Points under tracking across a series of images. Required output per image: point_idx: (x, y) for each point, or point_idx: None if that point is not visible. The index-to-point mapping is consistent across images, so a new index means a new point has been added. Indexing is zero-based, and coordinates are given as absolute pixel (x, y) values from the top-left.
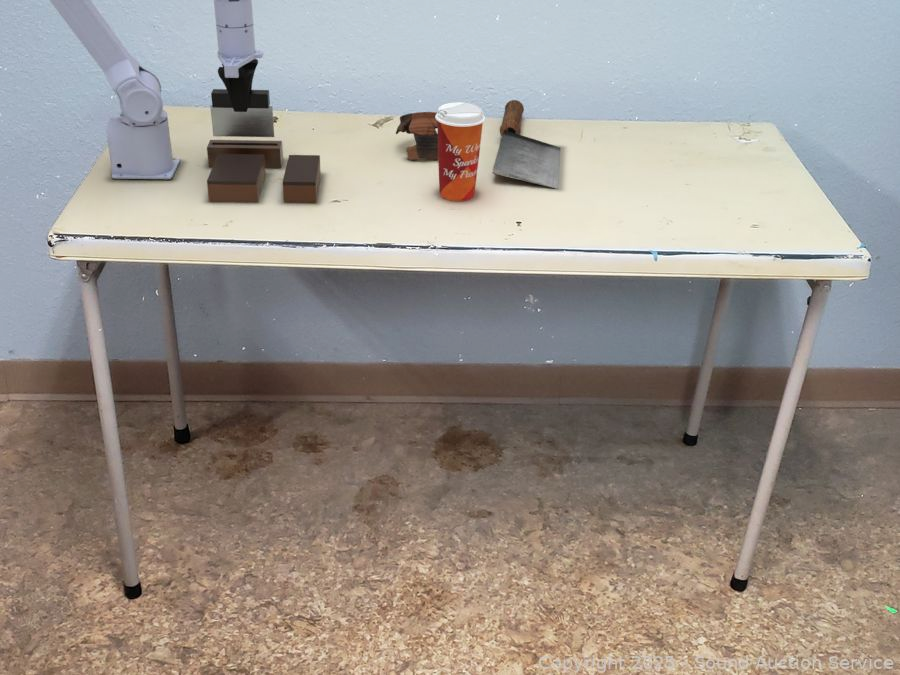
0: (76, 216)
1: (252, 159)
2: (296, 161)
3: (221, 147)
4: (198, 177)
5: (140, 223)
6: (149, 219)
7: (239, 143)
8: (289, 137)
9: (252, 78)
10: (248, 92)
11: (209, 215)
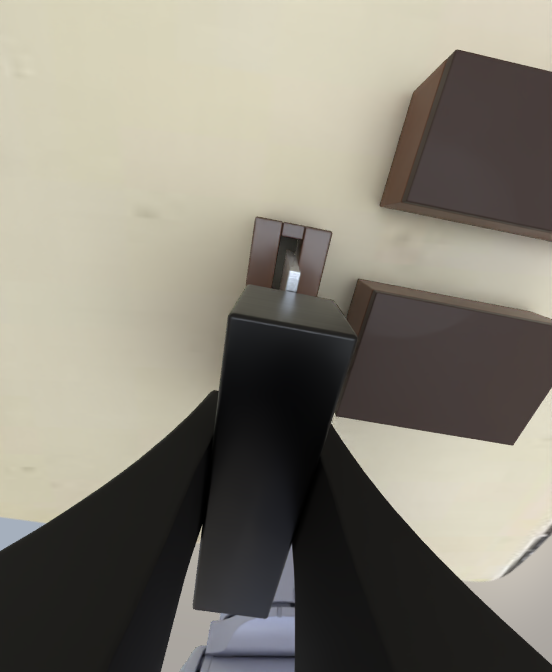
0: None
1: (409, 331)
2: (484, 176)
3: None
4: (335, 423)
5: (515, 506)
6: (505, 495)
7: None
8: (60, 176)
9: (173, 530)
10: (384, 500)
11: (543, 410)
